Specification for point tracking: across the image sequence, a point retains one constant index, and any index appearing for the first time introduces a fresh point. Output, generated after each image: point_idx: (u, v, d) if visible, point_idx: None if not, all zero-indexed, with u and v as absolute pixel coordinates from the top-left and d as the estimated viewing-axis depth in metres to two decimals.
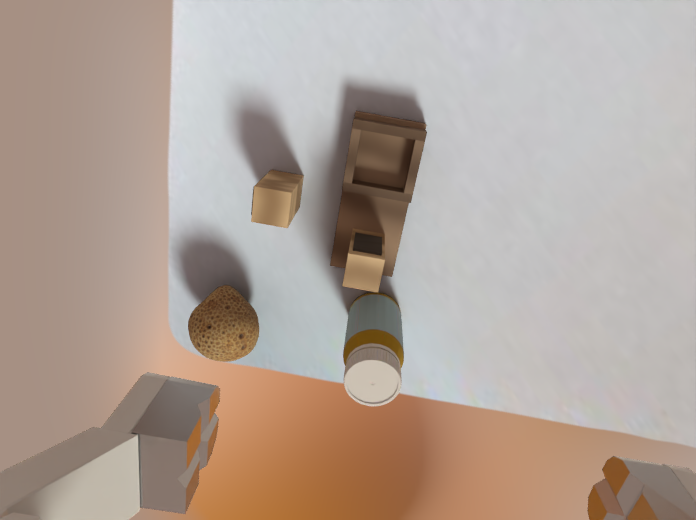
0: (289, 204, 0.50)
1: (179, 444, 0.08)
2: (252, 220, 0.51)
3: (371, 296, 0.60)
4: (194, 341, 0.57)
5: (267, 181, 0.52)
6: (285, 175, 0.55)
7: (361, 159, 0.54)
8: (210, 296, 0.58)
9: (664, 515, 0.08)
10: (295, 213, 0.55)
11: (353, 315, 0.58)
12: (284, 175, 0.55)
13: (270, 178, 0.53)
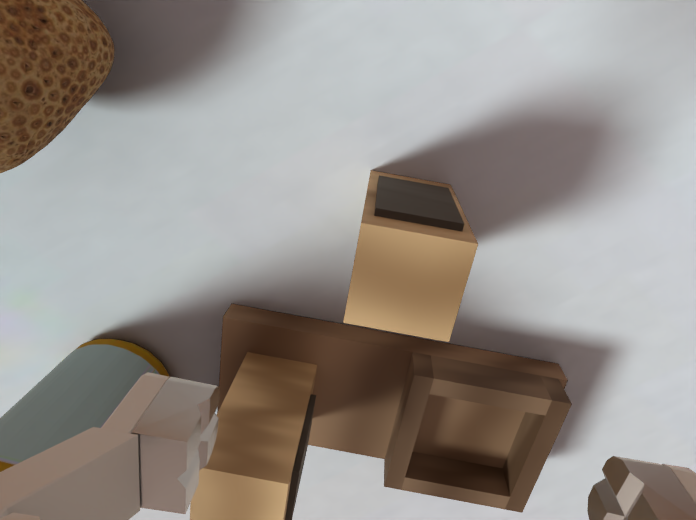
0: (414, 332, 0.17)
1: (179, 444, 0.08)
2: (365, 226, 0.16)
3: None
4: None
5: None
6: None
7: None
8: (58, 6, 0.16)
9: (664, 515, 0.08)
10: None
11: (109, 398, 0.24)
12: None
13: None
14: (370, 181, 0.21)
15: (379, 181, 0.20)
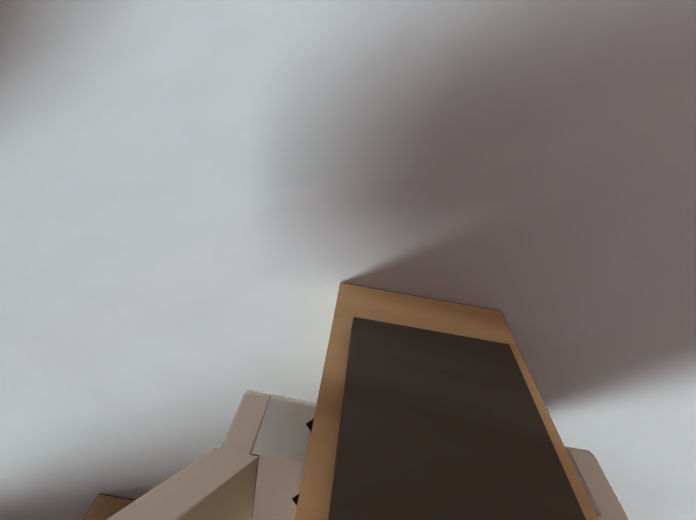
0: None
1: (297, 465, 0.08)
2: None
3: None
4: None
5: None
6: None
7: None
8: None
9: None
10: None
11: None
12: None
13: None
14: (334, 331, 0.09)
15: (352, 348, 0.08)
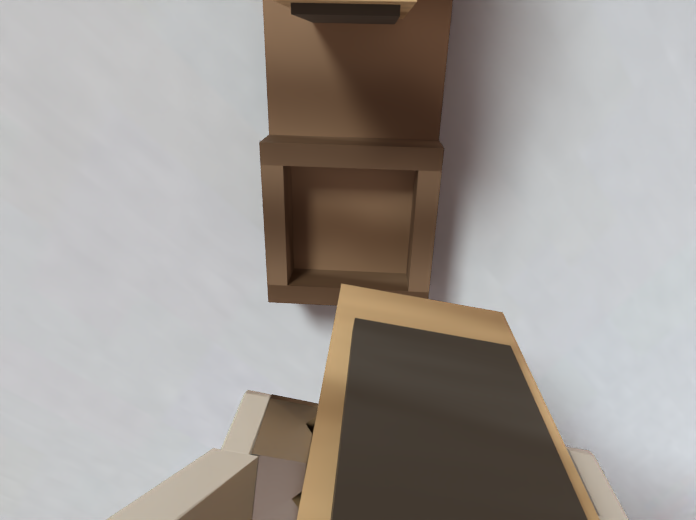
0: None
1: (297, 465, 0.08)
2: None
3: None
4: None
5: None
6: None
7: (399, 209, 0.23)
8: None
9: None
10: None
11: None
12: None
13: None
14: (335, 332, 0.09)
15: (354, 349, 0.08)
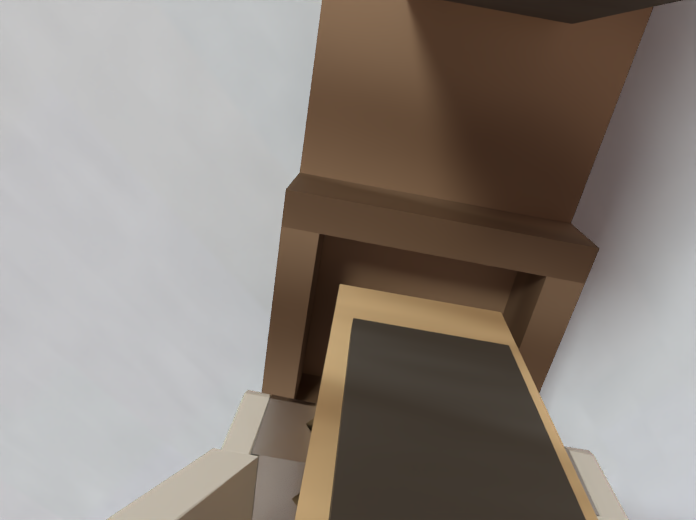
0: None
1: (297, 465, 0.08)
2: None
3: None
4: None
5: None
6: None
7: None
8: None
9: None
10: None
11: None
12: None
13: None
14: (334, 333, 0.09)
15: (352, 349, 0.08)
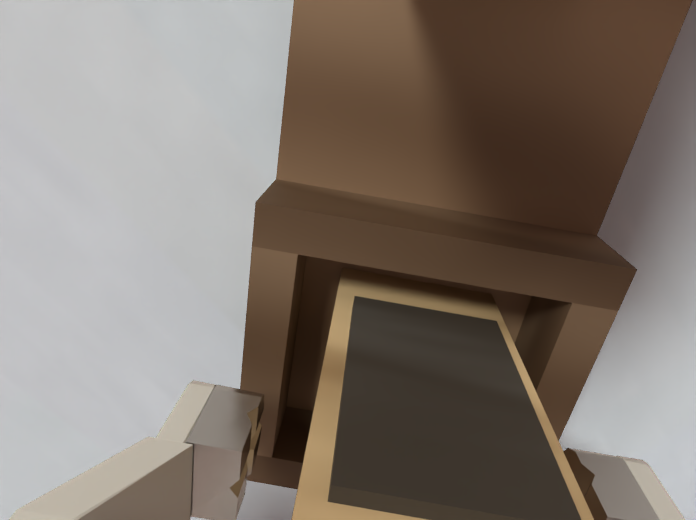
0: None
1: (233, 453, 0.08)
2: None
3: None
4: None
5: None
6: None
7: None
8: None
9: (611, 505, 0.08)
10: None
11: None
12: None
13: None
14: (337, 309, 0.10)
15: (353, 322, 0.09)
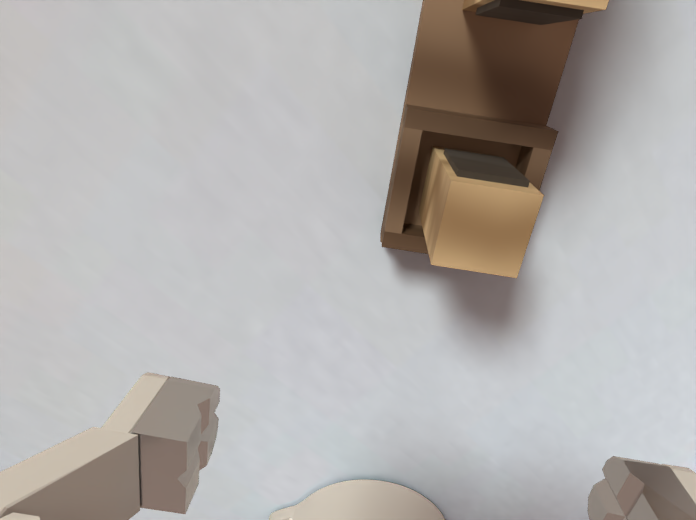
0: (488, 271, 0.22)
1: (179, 444, 0.08)
2: (454, 184, 0.20)
3: None
4: None
5: None
6: None
7: None
8: None
9: (664, 515, 0.08)
10: (423, 227, 0.26)
11: None
12: None
13: None
14: (437, 153, 0.25)
15: (448, 152, 0.24)
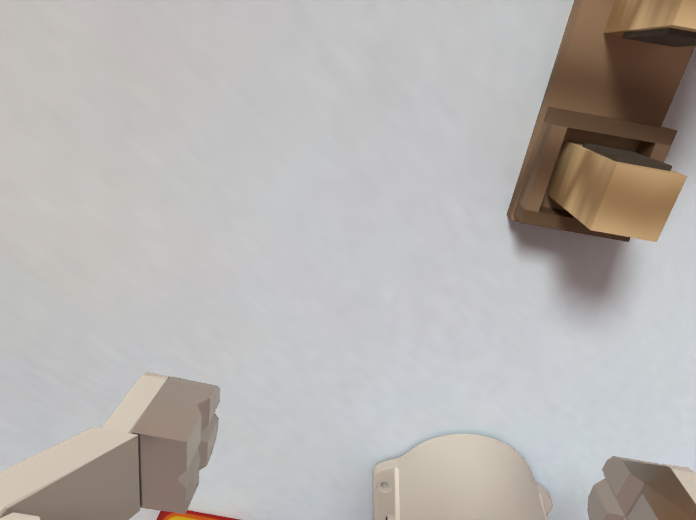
0: (634, 236, 0.28)
1: (179, 444, 0.08)
2: (618, 166, 0.26)
3: None
4: None
5: None
6: None
7: None
8: None
9: (664, 515, 0.08)
10: (562, 206, 0.32)
11: None
12: None
13: None
14: (578, 146, 0.31)
15: (591, 145, 0.30)
